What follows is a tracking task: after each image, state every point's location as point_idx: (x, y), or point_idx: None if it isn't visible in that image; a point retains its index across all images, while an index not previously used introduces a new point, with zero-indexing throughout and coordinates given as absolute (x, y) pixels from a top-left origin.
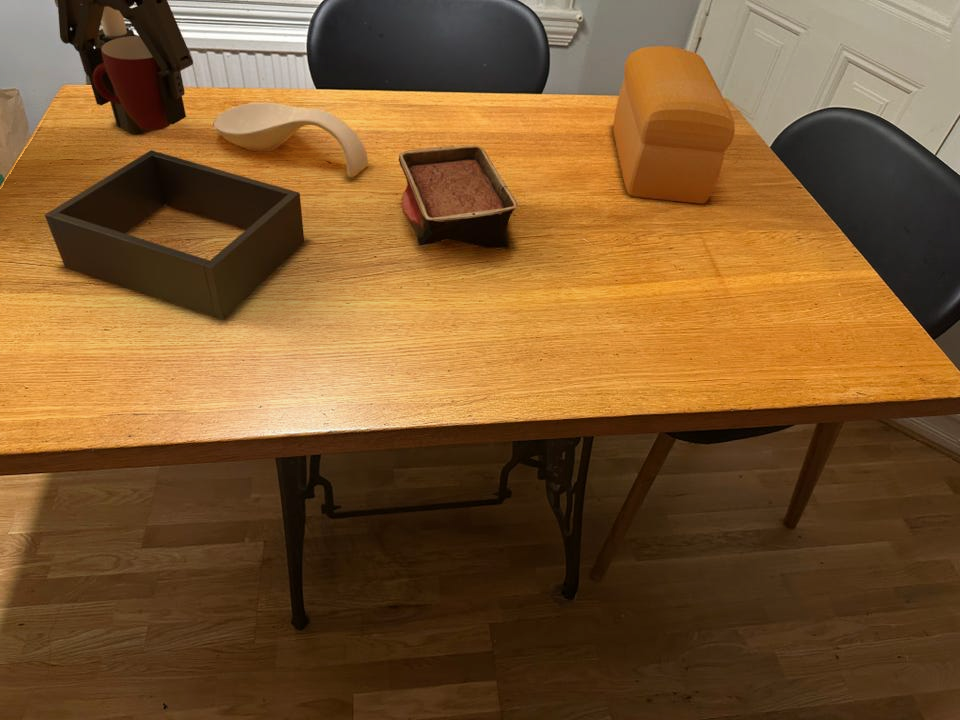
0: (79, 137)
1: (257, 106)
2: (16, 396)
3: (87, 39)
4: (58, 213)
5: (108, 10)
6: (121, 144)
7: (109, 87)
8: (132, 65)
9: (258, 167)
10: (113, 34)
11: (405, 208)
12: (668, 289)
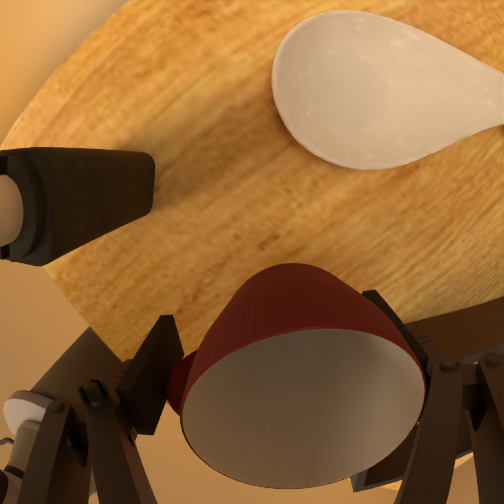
0: (100, 276)
1: (309, 28)
2: (398, 488)
3: (135, 452)
4: (364, 487)
5: None
6: (161, 254)
7: (166, 338)
8: (359, 460)
9: (406, 174)
10: (15, 235)
11: None
12: None
